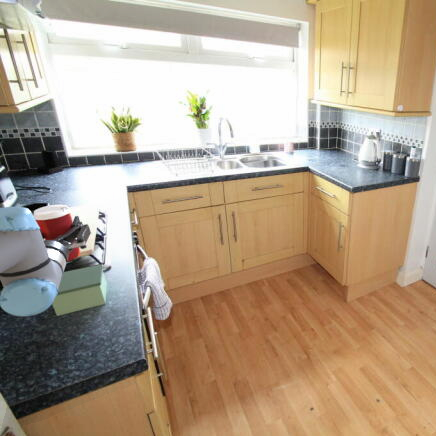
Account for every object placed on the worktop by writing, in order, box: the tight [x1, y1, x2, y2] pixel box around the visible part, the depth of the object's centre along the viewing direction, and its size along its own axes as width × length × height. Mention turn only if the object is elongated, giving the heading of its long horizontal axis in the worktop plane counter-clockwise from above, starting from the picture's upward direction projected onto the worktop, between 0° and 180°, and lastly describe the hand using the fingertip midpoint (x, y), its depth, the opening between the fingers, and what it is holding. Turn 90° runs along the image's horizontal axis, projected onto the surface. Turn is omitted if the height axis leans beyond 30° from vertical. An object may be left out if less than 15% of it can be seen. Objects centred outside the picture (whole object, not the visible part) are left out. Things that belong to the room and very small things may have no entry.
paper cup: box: [32, 203, 82, 262], centre depth 84 cm, size 8×8×14 cm
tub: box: [51, 263, 108, 317], centre depth 92 cm, size 12×11×8 cm
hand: (61, 222), depth 87 cm, fingers closed on paper cup, 6 cm apart
